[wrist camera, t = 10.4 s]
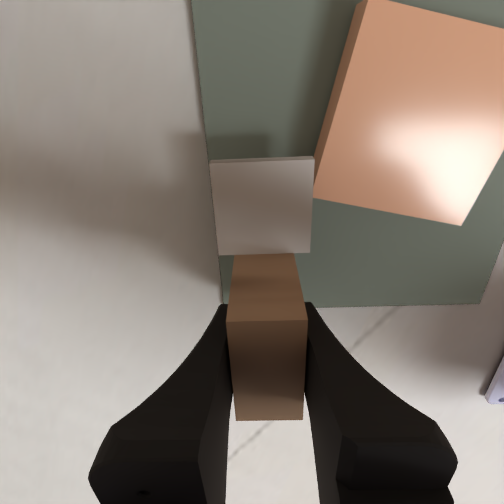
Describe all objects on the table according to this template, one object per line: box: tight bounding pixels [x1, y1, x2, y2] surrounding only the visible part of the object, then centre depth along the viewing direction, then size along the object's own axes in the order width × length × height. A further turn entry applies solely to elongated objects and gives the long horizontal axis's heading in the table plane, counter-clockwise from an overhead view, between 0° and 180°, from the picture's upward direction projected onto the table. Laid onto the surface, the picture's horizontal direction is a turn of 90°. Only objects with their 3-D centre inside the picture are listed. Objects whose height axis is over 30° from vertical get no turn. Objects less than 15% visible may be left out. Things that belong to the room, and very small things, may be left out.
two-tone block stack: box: [209, 156, 315, 421], centre depth 13 cm, size 9×4×5 cm, turn 2°
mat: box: [191, 0, 504, 308], centre depth 15 cm, size 15×17×1 cm
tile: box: [313, 0, 504, 226], centre depth 13 cm, size 7×2×7 cm
